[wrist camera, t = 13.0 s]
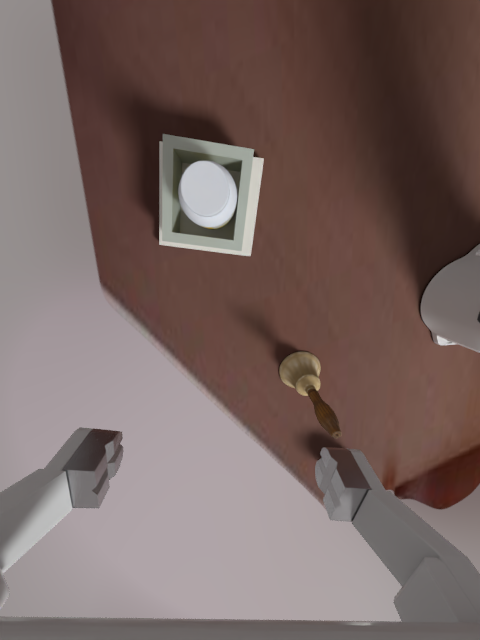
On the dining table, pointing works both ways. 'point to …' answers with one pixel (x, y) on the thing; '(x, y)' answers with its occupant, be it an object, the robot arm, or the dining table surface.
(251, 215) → the well block
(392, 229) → the dining table surface
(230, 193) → the pill bottle
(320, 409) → the hand bell
